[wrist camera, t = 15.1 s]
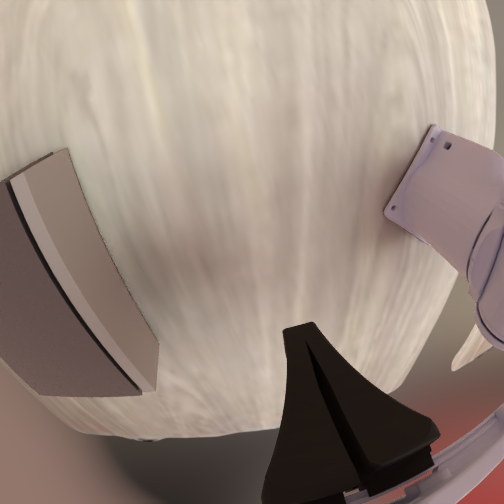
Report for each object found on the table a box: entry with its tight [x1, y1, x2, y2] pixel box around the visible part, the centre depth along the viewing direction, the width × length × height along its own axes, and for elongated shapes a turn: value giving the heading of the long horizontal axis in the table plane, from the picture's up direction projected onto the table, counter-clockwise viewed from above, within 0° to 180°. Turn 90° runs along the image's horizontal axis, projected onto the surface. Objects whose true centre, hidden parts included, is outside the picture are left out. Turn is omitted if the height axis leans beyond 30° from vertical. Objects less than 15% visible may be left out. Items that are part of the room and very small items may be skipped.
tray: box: [10, 148, 159, 392], centre depth 17 cm, size 12×20×6 cm, turn 10°
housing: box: [0, 152, 142, 397], centre depth 17 cm, size 14×20×6 cm
